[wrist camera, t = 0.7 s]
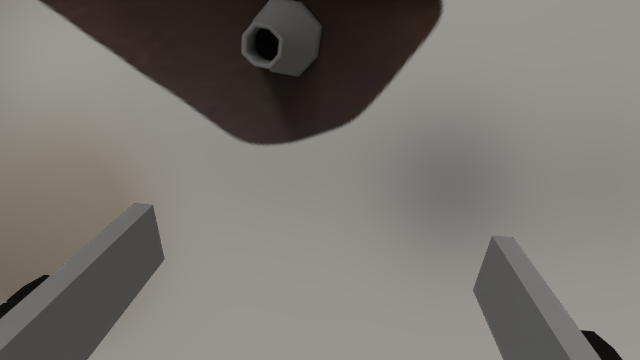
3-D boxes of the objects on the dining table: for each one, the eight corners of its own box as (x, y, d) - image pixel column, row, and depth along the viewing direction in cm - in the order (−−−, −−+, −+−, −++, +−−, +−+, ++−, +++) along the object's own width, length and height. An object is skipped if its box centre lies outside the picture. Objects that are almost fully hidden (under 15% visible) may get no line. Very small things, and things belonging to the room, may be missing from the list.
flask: (335, 21, 32) (328, 22, 23) (302, 88, 35) (285, 112, 26) (267, -18, 31) (233, -33, 22) (240, 54, 34) (200, 67, 25)
